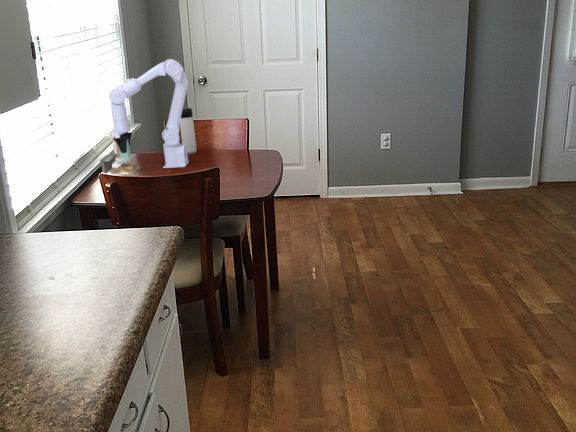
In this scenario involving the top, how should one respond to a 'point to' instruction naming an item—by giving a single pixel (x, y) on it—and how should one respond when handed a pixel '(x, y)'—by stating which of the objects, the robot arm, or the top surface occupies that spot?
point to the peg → (127, 154)
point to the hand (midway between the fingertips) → (125, 151)
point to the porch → (123, 168)
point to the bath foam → (117, 151)
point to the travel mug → (188, 131)
